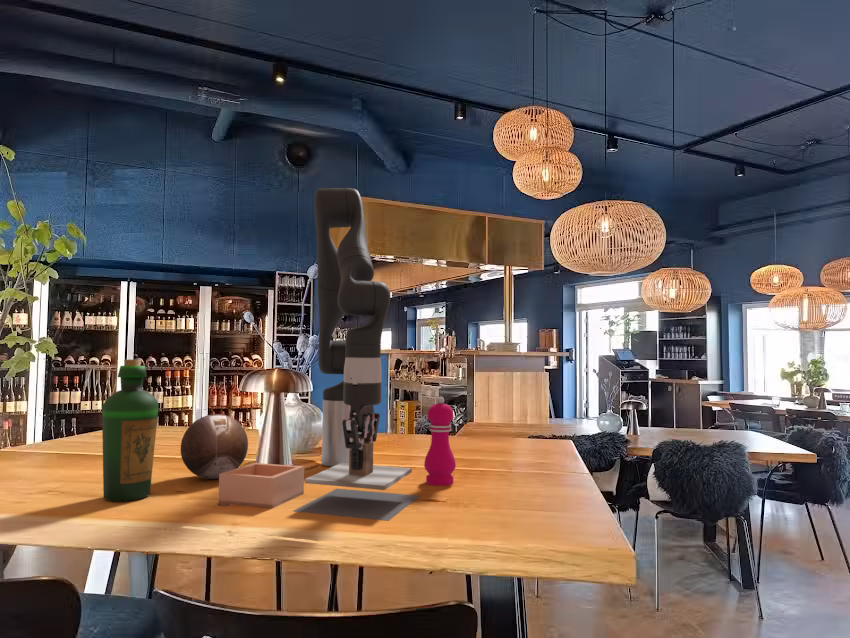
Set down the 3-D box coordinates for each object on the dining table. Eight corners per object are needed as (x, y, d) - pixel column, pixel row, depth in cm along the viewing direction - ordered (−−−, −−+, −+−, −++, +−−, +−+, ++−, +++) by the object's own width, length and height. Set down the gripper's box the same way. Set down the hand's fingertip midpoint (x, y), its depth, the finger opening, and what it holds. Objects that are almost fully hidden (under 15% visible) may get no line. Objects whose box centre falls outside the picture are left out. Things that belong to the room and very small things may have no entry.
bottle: (146, 503, 113) (152, 360, 115) (88, 504, 111) (94, 359, 113) (162, 490, 124) (167, 359, 125) (109, 491, 122) (114, 359, 124)
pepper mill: (452, 488, 128) (453, 398, 129) (421, 486, 130) (422, 397, 131) (457, 481, 135) (458, 395, 137) (427, 479, 137) (428, 395, 138)
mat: (336, 490, 125) (336, 488, 125) (420, 497, 120) (420, 495, 120) (292, 513, 107) (292, 510, 107) (388, 522, 102) (388, 520, 102)
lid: (341, 466, 124) (341, 434, 124) (411, 472, 119) (412, 439, 120) (305, 483, 109) (305, 446, 109) (384, 490, 104) (385, 452, 104)
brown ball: (198, 488, 125) (200, 419, 126) (168, 478, 136) (170, 414, 136) (259, 478, 136) (261, 414, 137) (227, 469, 147) (229, 410, 148)
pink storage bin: (253, 491, 124) (254, 462, 124) (303, 495, 120) (304, 466, 121) (218, 504, 112) (219, 473, 113) (272, 510, 109) (273, 478, 109)
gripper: (359, 378, 123) (357, 459, 122) (329, 381, 109) (327, 473, 108) (392, 379, 121) (391, 462, 120) (366, 382, 107) (364, 476, 106)
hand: (361, 467), depth 114 cm, fingers closed on lid, 3 cm apart
